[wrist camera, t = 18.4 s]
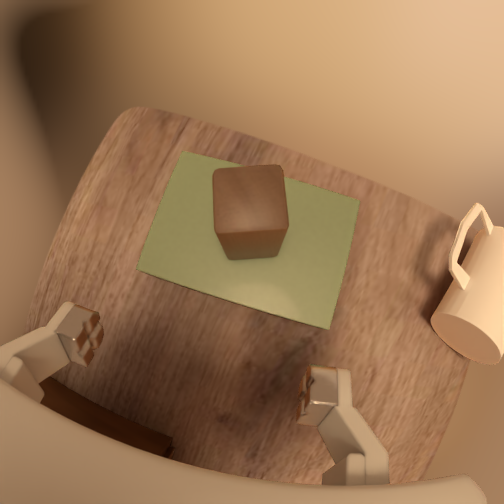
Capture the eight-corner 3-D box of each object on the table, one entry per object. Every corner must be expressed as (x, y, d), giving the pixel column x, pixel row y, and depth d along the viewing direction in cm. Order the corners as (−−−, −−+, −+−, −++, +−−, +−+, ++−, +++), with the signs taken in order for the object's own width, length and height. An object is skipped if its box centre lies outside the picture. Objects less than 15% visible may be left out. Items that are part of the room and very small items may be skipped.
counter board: (147, 273, 27) (135, 269, 24) (188, 165, 29) (182, 150, 26) (320, 328, 26) (329, 330, 23) (350, 211, 28) (360, 200, 25)
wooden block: (274, 208, 24) (283, 161, 17) (278, 257, 24) (290, 230, 16) (224, 211, 24) (211, 166, 17) (226, 261, 24) (213, 235, 16)
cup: (395, 280, 24) (444, 200, 25) (450, 353, 26) (489, 279, 27) (468, 288, 16) (509, 189, 17) (508, 372, 18) (545, 284, 19)
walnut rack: (35, 423, 23) (2, 436, 17) (41, 371, 25) (5, 378, 19) (162, 491, 22) (144, 522, 16) (177, 439, 24) (159, 467, 18)
